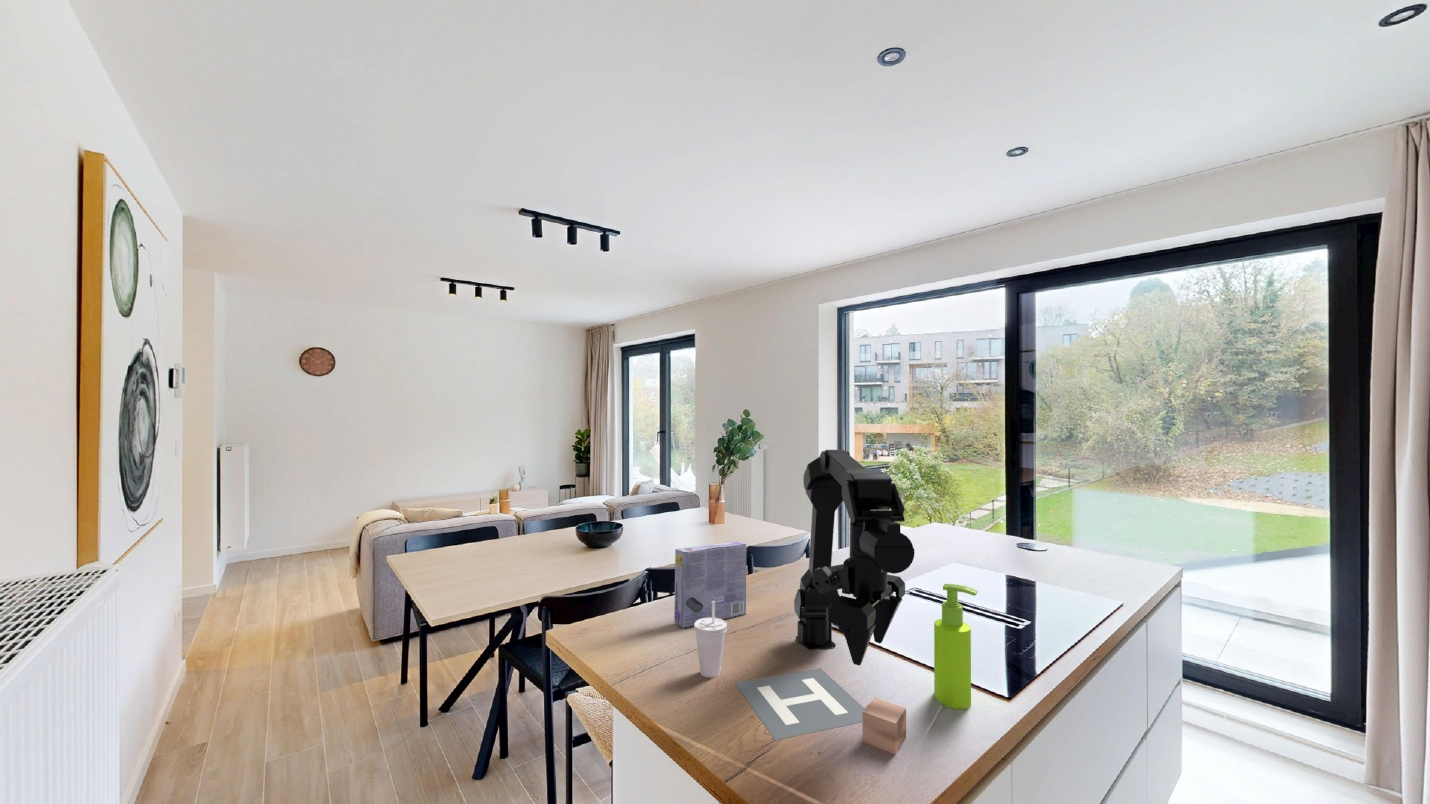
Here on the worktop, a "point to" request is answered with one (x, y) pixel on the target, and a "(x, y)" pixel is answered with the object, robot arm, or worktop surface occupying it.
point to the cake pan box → (710, 582)
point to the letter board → (800, 703)
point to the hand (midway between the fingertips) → (868, 653)
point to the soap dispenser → (953, 652)
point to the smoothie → (710, 643)
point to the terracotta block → (884, 725)
